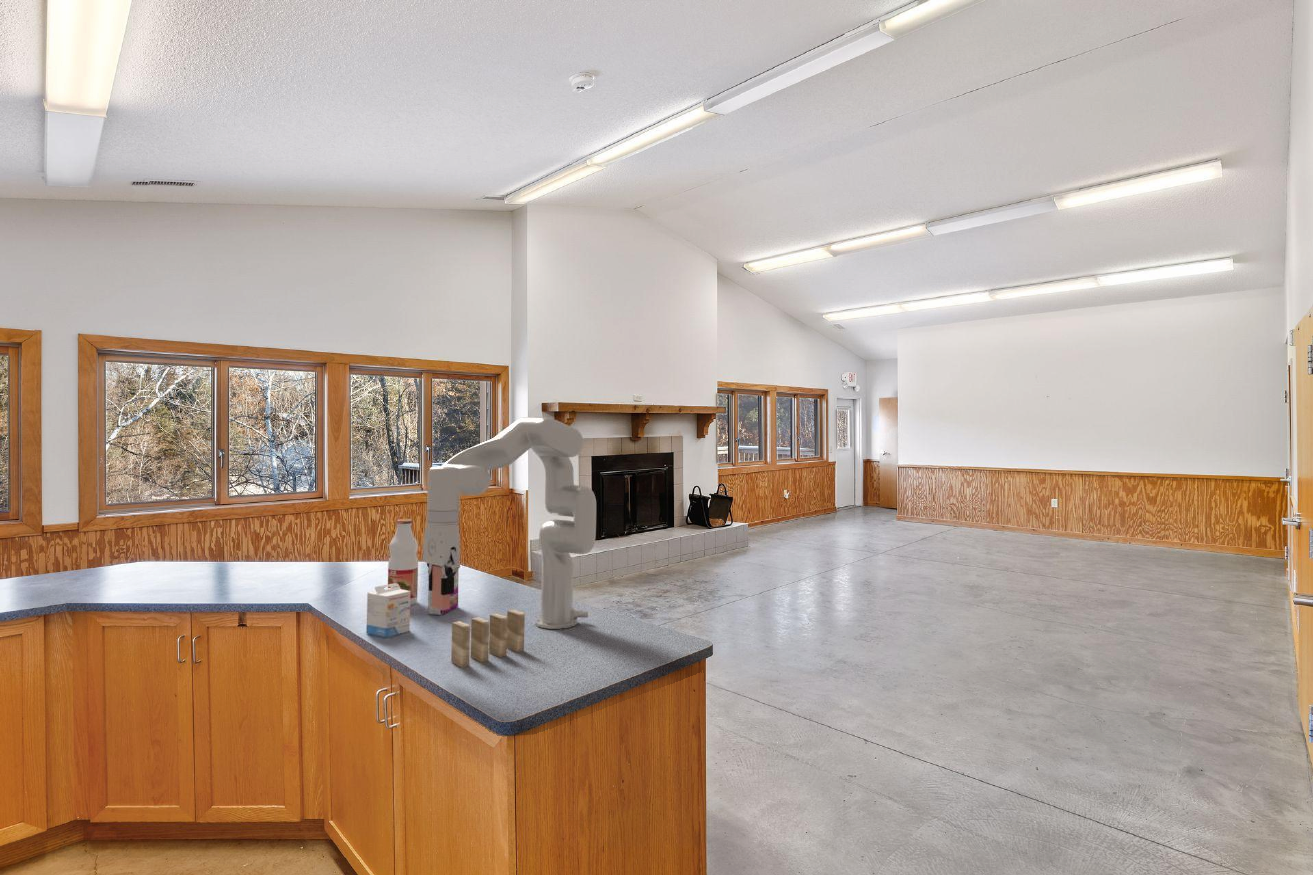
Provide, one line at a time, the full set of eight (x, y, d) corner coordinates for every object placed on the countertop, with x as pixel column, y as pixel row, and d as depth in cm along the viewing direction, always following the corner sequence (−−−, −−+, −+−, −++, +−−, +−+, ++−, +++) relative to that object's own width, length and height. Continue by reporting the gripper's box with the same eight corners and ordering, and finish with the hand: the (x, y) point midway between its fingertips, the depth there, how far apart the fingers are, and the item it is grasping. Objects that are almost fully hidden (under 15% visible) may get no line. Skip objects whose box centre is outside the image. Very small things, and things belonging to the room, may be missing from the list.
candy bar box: (444, 605, 223) (445, 556, 223) (458, 607, 222) (459, 557, 222) (426, 614, 212) (427, 562, 212) (441, 615, 211) (442, 563, 211)
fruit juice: (423, 602, 227) (425, 519, 227) (401, 608, 219) (403, 522, 219) (403, 598, 231) (405, 517, 231) (380, 604, 223) (382, 520, 223)
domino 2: (458, 660, 170) (459, 621, 170) (469, 665, 167) (470, 625, 167) (451, 662, 169) (452, 622, 169) (461, 667, 166) (462, 626, 166)
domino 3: (477, 655, 174) (478, 617, 174) (488, 660, 171) (489, 621, 171) (470, 657, 173) (471, 618, 173) (481, 662, 170) (482, 622, 170)
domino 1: (439, 604, 166) (440, 564, 166) (449, 608, 163) (450, 567, 163) (431, 606, 165) (432, 565, 165) (442, 610, 161) (443, 568, 161)
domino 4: (495, 650, 178) (496, 613, 178) (506, 655, 175) (507, 617, 175) (489, 652, 177) (489, 614, 177) (500, 657, 174) (500, 618, 174)
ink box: (385, 638, 187) (386, 590, 187) (365, 633, 191) (366, 586, 191) (410, 630, 195) (411, 584, 195) (390, 626, 199) (391, 580, 199)
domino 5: (512, 646, 183) (513, 609, 182) (523, 650, 179) (524, 613, 179) (506, 648, 181) (507, 610, 181) (517, 652, 178) (518, 614, 178)
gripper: (411, 514, 167) (409, 588, 167) (447, 521, 155) (445, 600, 155) (439, 513, 172) (437, 584, 172) (476, 519, 161) (474, 595, 161)
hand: (441, 591), depth 164 cm, fingers closed on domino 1, 4 cm apart
